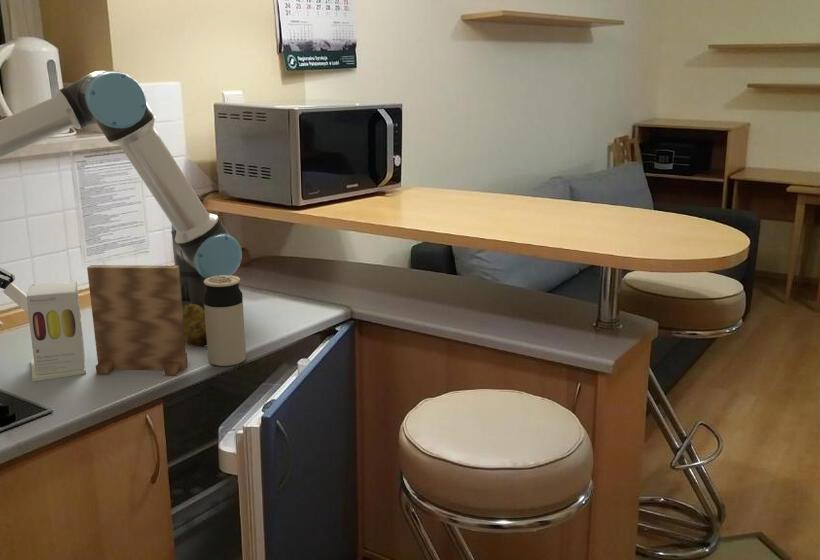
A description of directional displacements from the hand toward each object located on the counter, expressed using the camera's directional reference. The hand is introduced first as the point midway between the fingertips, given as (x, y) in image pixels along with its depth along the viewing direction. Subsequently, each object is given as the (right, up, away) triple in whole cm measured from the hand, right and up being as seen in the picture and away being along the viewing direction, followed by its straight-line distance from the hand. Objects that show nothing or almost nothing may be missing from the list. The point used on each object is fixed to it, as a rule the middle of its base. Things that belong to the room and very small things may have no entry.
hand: (15, 317), depth 163 cm
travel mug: (+42, -10, +7) cm, 44 cm away
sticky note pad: (+8, -11, +3) cm, 13 cm away
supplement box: (+8, -10, +2) cm, 13 cm away
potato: (+32, -6, +18) cm, 38 cm away
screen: (+25, -11, +2) cm, 28 cm away
